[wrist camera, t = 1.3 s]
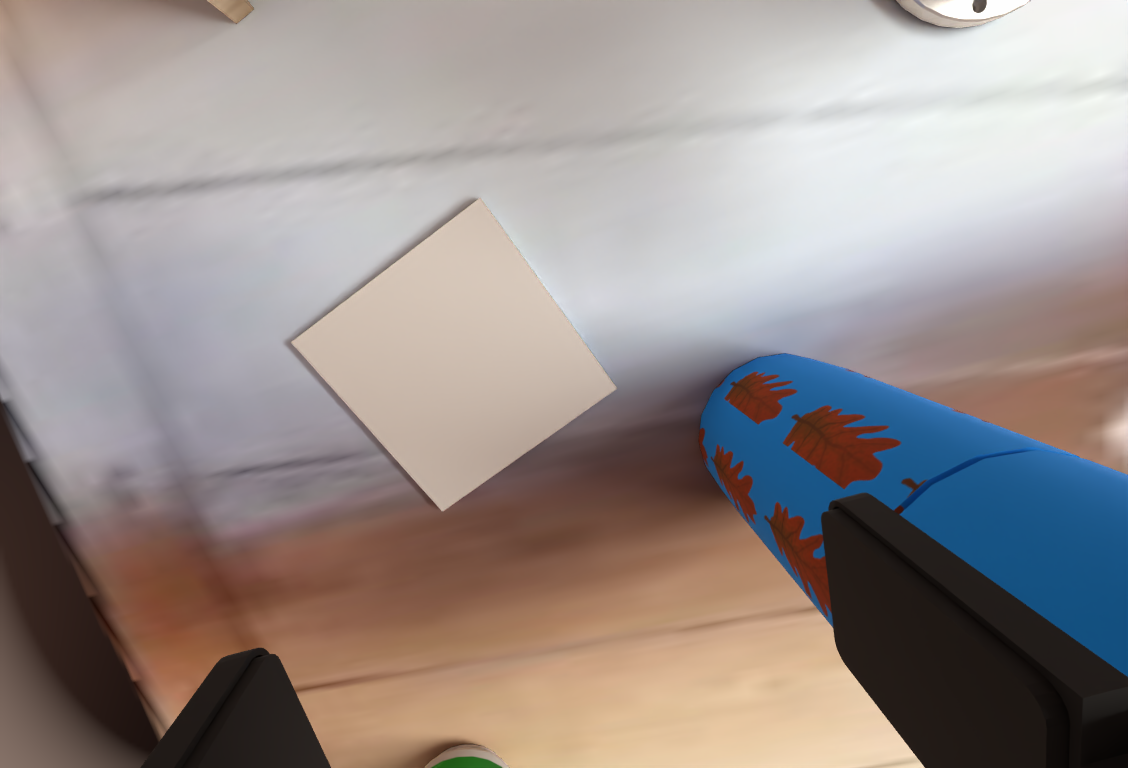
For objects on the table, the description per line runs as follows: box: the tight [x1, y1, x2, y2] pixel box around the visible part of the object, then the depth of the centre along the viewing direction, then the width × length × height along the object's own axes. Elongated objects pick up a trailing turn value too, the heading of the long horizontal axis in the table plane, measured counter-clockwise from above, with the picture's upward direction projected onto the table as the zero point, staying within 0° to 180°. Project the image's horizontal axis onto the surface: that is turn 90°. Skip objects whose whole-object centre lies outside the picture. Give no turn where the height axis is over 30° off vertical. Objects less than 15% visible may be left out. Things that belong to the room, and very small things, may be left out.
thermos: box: [699, 353, 1128, 677], centre depth 23 cm, size 11×11×25 cm
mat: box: [291, 198, 617, 512], centre depth 32 cm, size 14×14×1 cm
